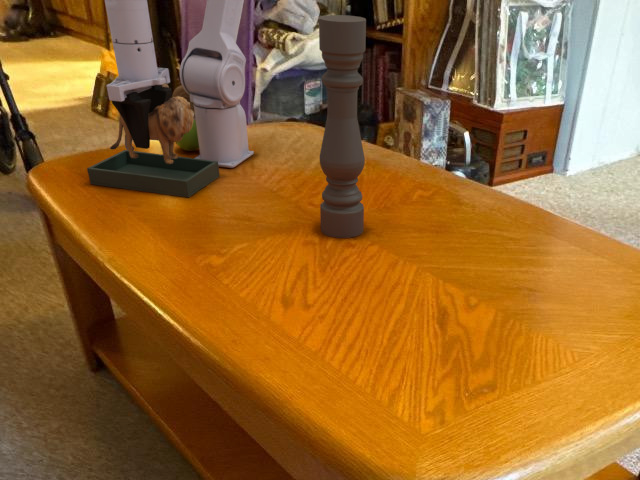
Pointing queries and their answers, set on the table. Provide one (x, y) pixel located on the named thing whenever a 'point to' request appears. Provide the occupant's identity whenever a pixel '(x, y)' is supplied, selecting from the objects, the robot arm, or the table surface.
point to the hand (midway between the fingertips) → (150, 143)
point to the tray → (154, 173)
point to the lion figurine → (163, 127)
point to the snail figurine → (191, 138)
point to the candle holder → (342, 125)
